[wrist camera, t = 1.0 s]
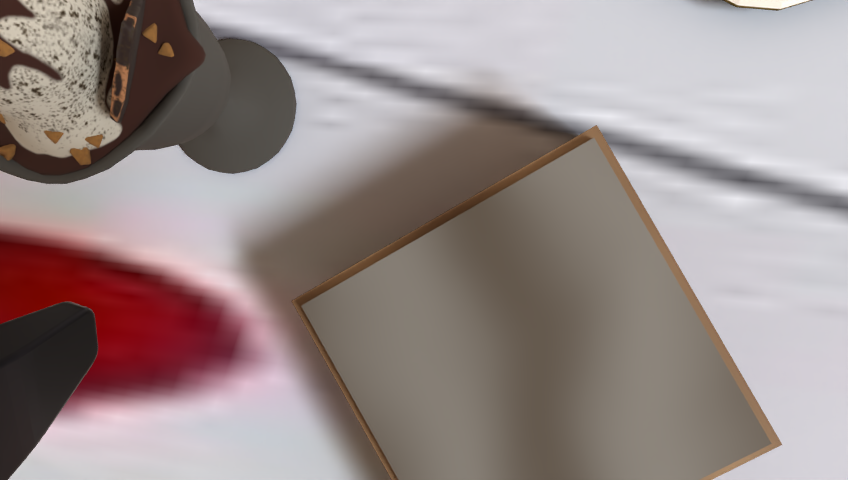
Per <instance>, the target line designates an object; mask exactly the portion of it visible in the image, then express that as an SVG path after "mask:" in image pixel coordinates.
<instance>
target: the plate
mask: <svg viewBox="0 0 848 480" xmlns="http://www.w3.org/2000/svg"><path fill="white" fill-rule="evenodd" d="M723 1H725V2H727V3H729V4H731V5H733V6H735V7H742V8H753V9H765V10H776V11H778V10H781V9H785V8H788V7H791V6H795V5H798V4H802V3H805V2H808V1H812V0H723Z"/></svg>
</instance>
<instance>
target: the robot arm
mask: <svg viewBox="0 0 848 480" xmlns="http://www.w3.org/2000/svg"><path fill="white" fill-rule="evenodd" d="M97 351H98V342H97V332H96V323H95V315H94V313H93V311H92V310H91V309H89V308H87V307H84V306H81V305H78V304H75V303H72V302H62V303H59V304H56V305H53V306H50V307H47V308H44V309H42V310H39V311H36V312H33V313H30V314H28V315H25V316H22V317H19V318H16V319H13V320H11V321H8V322H5V323H2V324H0V480H8V479H9V478H10V477H11V475H12V474H13V473H14V472H15V471H16V469H17V468H18V467H19V466H20V465H21V464H22V462H23V461H24V460H25V459H26V458H27V456H28V455H29V454H30V453H31V451H32V450H33V449H34V448H35V446H36V445H37V444H38V442H39V441H40V440H41V438H42V437H43V435H44V434H45V433H46V431H47V430H48V428H49V427H50V425H51V424H52V423H53V421H54V420H55V418H56V417H57V415H58V414H59V412H60V411H61V409H62V408H63V406H64V405H65V404H66V402H67V401H68V399H69V398H70V396H71V395H72V393H73V392H74V390H75V389H76V387H77V386H78V385H79V383H80V382H81V380H82V379H83V377H84V376H85V374H86V373H87V371H88V370H89V368H90V367H91V366H92V364H93V362H94V360H95V358H96V355H97Z"/></svg>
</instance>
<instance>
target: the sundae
mask: <svg viewBox="0 0 848 480" xmlns="http://www.w3.org/2000/svg"><path fill="white" fill-rule="evenodd" d="M295 113H296V98H295V91H294V88H293V84H292V80H291V77H290V76H289V74H288V72H287V71H286V69H285V67H284V66H283V65H282V63H281V62H280V61H279V60H278V58H277V57H276V56H275V55H273V54H272V53H271V52H269V51H268V50H267V49H265V48H263V47H262V46H260V45H258V44H256V43H254V42H250V41H245V40H239V39H225V40H220V41H217V39H216V38H215V36H214V35H213V33H212V31H211V30H210V28H209V27H208V25H207V24H206V23H205V21H204V20H203V19H202V17H201V16H200V15H199V14H198V13H197V12H196V10H195V7H194V3H193V0H0V170H1V171H3V172H5V173H8V174H11V175H14V176H17V177H20V178H23V179H26V180H30V181H35V182H41V183H46V184H67V183H71V182H74V181H78V180H82V179H85V178H88V177H90V176H93V175H95V174H98V173H100V172H103V171H105V170H107V169H109V168H111V167H112V166H114V165H115V164H117V163H118V162H119V161H121V160H122V159H124V158H125V157H127V156H128V155H129V154H131V153H132V152H133V151H135V150H156V149H160V148H165V147H170V146H174V145H178V144H179V145H180V147H181V148H182V149H183V150H184V152H185V153H186V154H187V156H189V157H190V158H191V159H193V160H194V161H195V162H197V163H198V164H200V165H202V166H204V167H205V168H207V169H209V170H213V171H217V172H222V173H231V174H234V173H240V172H246V171H249V170H252V169H256V168H258V167H260V166H261V165H263V164H264V163H266V162H268V161H269V160H270V159H271V158H272V157H274V156H275V155H276V154H277V153H278V152H279V151H280V149H281V148H282V147H283V145H284V144H285V142H286V141H287V139H288V137H289V135H290V133H291V131H292V128H293V124H294V119H295Z"/></svg>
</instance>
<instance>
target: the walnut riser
mask: <svg viewBox="0 0 848 480" xmlns="http://www.w3.org/2000/svg"><path fill="white" fill-rule="evenodd" d="M292 303H293V305H294V306H295V308H296V310H297V312H298V314H299V315H300V317H301V319H302V321H303V323H304V324H305V326H306V328H307V330H308V331H309V333H310V335H311V337H312V339H313V340H314V342H315V344H316V346H317V348H318V349H319V351H320V353H321V355H322V356H323V358H324V360H325V362H326V364H327V365H328V367H329V369H330V371H331V373H332V374H333V376H334V378H335V380H336V381H337V383H338V385H339V387H340V389H341V390H342V392H343V394H344V396H345V398H346V399H347V401H348V403H349V405H350V406H351V408H352V410H353V412H354V414H355V415H356V417H357V419H358V421H359V423H360V424H361V426H362V428H363V430H364V431H365V433H366V435H367V437H368V439H369V440H370V442H371V444H372V446H373V448H374V449H375V451H376V453H377V455H378V456H379V458H380V460H381V462H382V464H383V465H384V467H385V469H386V471H387V473H388V474H389V476H390V478H391V480H712V479H714V478H716V477H718V476H720V475H722V474H724V473H726V472H728V471H730V470H732V469H734V468H736V467H738V466H740V465H742V464H744V463H746V462H748V461H750V460H752V459H754V458H756V457H758V456H760V455H762V454H764V453H766V452H768V451H770V450H772V449H774V448H776V447H778V446H780V445H782V444H781V442H780V440H779V438H778V437H777V435H776V433H775V431H774V430H773V428H772V426H771V425H770V423H769V421H768V419H767V418H766V416H765V414H764V413H763V411H762V409H761V407H760V406H759V404H758V402H757V400H756V399H755V397H754V395H753V394H752V392H751V390H750V388H749V387H748V385H747V383H746V382H745V380H744V378H743V376H742V375H741V373H740V371H739V369H738V368H737V366H736V364H735V363H734V361H733V359H732V357H731V356H730V354H729V352H728V351H727V349H726V347H725V345H724V344H723V342H722V340H721V338H720V337H719V335H718V333H717V332H716V330H715V328H714V326H713V325H712V323H711V321H710V319H709V318H708V316H707V314H706V313H705V311H704V309H703V307H702V306H701V304H700V302H699V301H698V299H697V297H696V295H695V294H694V292H693V290H692V288H691V287H690V285H689V283H688V282H687V280H686V278H685V276H684V275H683V273H682V271H681V270H680V268H679V266H678V264H677V263H676V261H675V259H674V257H673V256H672V254H671V252H670V251H669V249H668V247H667V245H666V244H665V242H664V240H663V239H662V237H661V235H660V233H659V232H658V230H657V228H656V226H655V225H654V223H653V221H652V220H651V218H650V216H649V214H648V213H647V211H646V209H645V208H644V206H643V204H642V202H641V201H640V199H639V197H638V195H637V194H636V192H635V190H634V189H633V187H632V185H631V183H630V182H629V180H628V178H627V176H626V175H625V173H624V171H623V170H622V168H621V166H620V164H619V163H618V161H617V159H616V158H615V156H614V154H613V152H612V151H611V149H610V147H609V145H608V144H607V142H606V140H605V139H604V137H603V135H602V133H601V132H600V130H599V128H598V127H597V125H596V126H594V127H592V128H591V129H589V130H587V131H586V132H584V133H582V134H580V135H579V136H577V137H575V138H573V139H572V140H570V141H568V142H566V143H565V144H563V145H561V146H559V147H558V148H556V149H554V150H553V151H551V152H549V153H547V154H546V155H544V156H542V157H540V158H539V159H537V160H535V161H533V162H532V163H530V164H528V165H526V166H525V167H523V168H521V169H520V170H518V171H516V172H514V173H513V174H511V175H509V176H507V177H506V178H504V179H502V180H500V181H499V182H497V183H495V184H494V185H492V186H490V187H488V188H487V189H485V190H483V191H481V192H480V193H478V194H476V195H474V196H473V197H471V198H469V199H467V200H466V201H464V202H462V203H461V204H459V205H457V206H455V207H454V208H452V209H450V210H448V211H447V212H445V213H443V214H441V215H440V216H438V217H436V218H434V219H433V220H431V221H429V222H428V223H426V224H424V225H422V226H421V227H419V228H417V229H415V230H414V231H412V232H410V233H408V234H407V235H405V236H403V237H402V238H400V239H398V240H396V241H395V242H393V243H391V244H389V245H388V246H386V247H384V248H382V249H381V250H379V251H377V252H375V253H374V254H372V255H370V256H369V257H367V258H365V259H363V260H362V261H360V262H358V263H356V264H355V265H353V266H351V267H349V268H348V269H346V270H344V271H342V272H341V273H339V274H337V275H336V276H334V277H332V278H330V279H329V280H327V281H325V282H323V283H322V284H320V285H318V286H316V287H315V288H313V289H311V290H310V291H308V292H306V293H304V294H303V295H301V296H299V297H297V298H296V299H294V300H292Z"/></svg>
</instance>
